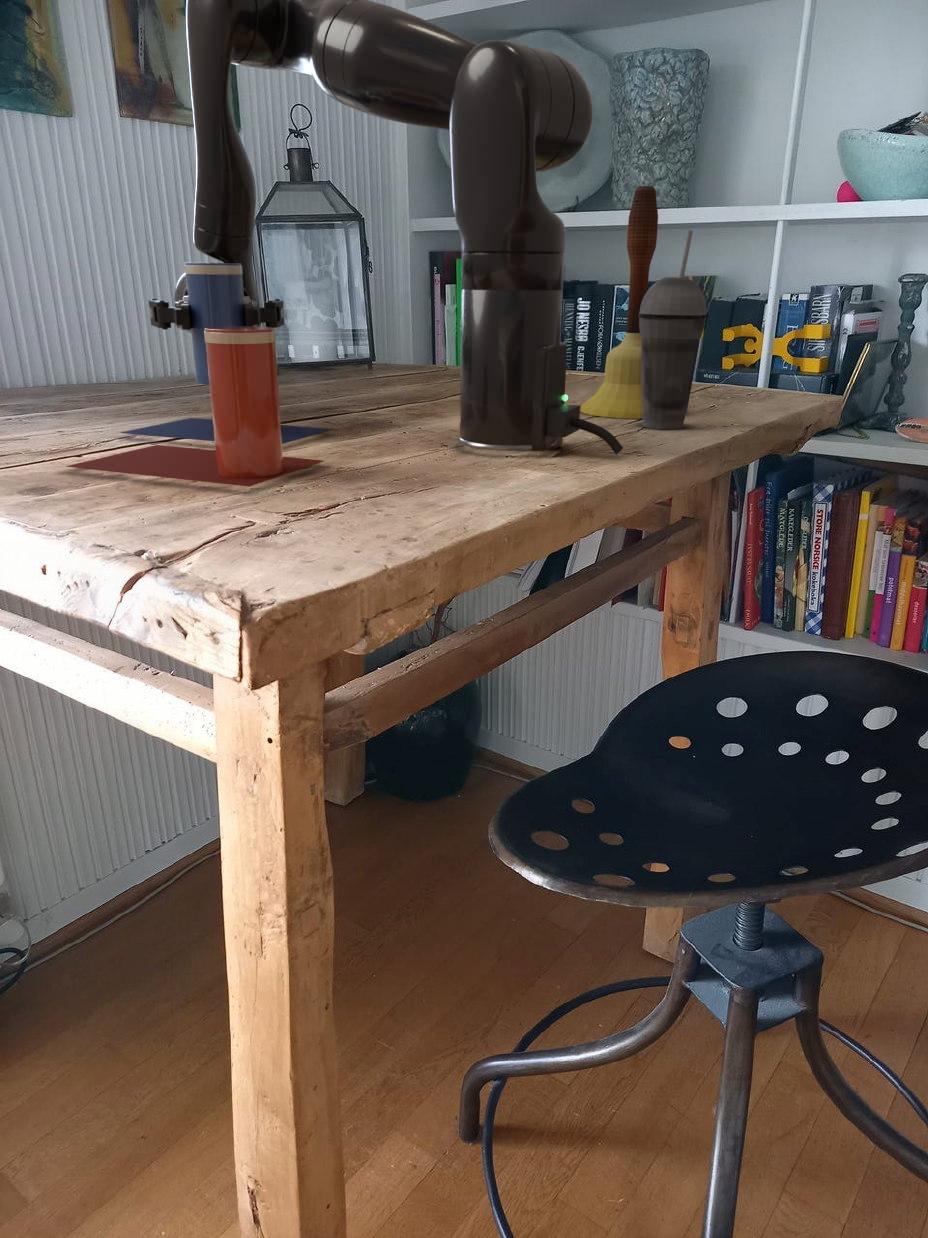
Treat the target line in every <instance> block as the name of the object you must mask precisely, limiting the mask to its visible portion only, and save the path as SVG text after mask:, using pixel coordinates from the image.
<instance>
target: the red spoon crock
mask: <svg viewBox="0 0 928 1238" xmlns="http://www.w3.org/2000/svg"><path fill="white" fill-rule="evenodd" d="M204 337H205V342H206V351H207V362H208V373H209V384H210V385H209V395H210V404H211V416H212V417H211V418H212V420H213V428H214V439H215V441H214V450H216V462H217V472H218V474H219V475H222V476H225V477H232V478H259V477H267V476H273V475H277V474H280V473H282V472H283V471H284V467H283V457H284V453H283V452H284V451H283V444H282V436H281V425H282V421H281V409H280V408H281V407H280V394H279V393H280V392H279V390H280V389H279V377H278V376H279V375H278V361H277V345H276V342H277V336H276V329H275V328H273V327H266V326H260V327H257V326H227V327H209V328H205V331H204Z"/></svg>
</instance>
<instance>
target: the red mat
mask: <svg viewBox="0 0 928 1238" xmlns="http://www.w3.org/2000/svg"><path fill="white" fill-rule="evenodd" d="M323 462H325V460H324V459H323V460H322V459H312V458H301V457H292V456H291V457H289V456H283V467H284V471H283V472H282V473H280V474H277V475H273V476H267V477H259V478H232V477H225V476H222V475H219V474H218V472H217V462H216V450H215V449H205V448H204V449H203V448H196V447H195V448H194V447H185V446H184V447H183V446H174V445H173V446H172V445H161V444H156V445H155V444H154V445H150V446H146V447H142V448H138V449H133V450H130V451H124V452H120V453H116V454H113V455H106V456H103V457H100V458H95V459H90V460H86V461H82V462H77V463H74V464H70V465H69V464H68V465H66V466H65V467H66V468H76V469H83V470H93V471H102V472H113V473H120V474H130V475H138V476H149V477H159V478H166V479H174V480H175V479H176V480H186V481H195V482H202V483H203V482H204V483H212V484H222V485H230V486H231V485H232V486H241V487H252V486H255V485H258V484H261V483H263V482H267V481H270V480H273V479H276V478H279V477H282V476H284V475H288V474H291V473H294V472H296V471H300V470H302V469H307V468H308V467H311V466H314V465H318V464H320V463H323Z"/></svg>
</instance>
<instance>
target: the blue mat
mask: <svg viewBox="0 0 928 1238" xmlns="http://www.w3.org/2000/svg"><path fill="white" fill-rule="evenodd" d="M332 430H334V428H325V427H315V426H313V427H312V426H303V425H302V426H300V425H287V424H281V436H282V445H284V444H287V443H290V442H294V441H297V440H300V439H304V438H307V437H312V436H314V435H318V434H321V433H325V432H329V431H332ZM119 433H120V434H129V435H138V436H141V435H142V436H148V437H149V436H150V437H161V438H173V439H184V440H194V441H195V440H196V441H206V442H207V441H208V442H215V439H214V428H213V418H212V419H211V418H199V417H197V418H196V417H189V418H183V419H178V420H175V421H174V420H173V421H170V422H165V423H159V424H155V425H151V426H144V427H140V428H135V429H131V430H130V429H129V430H126V431H125V430H124V431H121V432H119Z"/></svg>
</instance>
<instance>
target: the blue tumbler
mask: <svg viewBox="0 0 928 1238" xmlns="http://www.w3.org/2000/svg"><path fill="white" fill-rule="evenodd" d="M184 273H185V274H186V280H187V291H188V301H189V311H190V321H191V333H192V334H191V333H190V334H191V342H192V343H191V344H192V353H193V363H194V364H193V365H194V375H195V383H197V384H200V385H209V386H210V384H209V373H208V362H207V351H206V342H205V337H204V331H205V328H209V327H227V326H246V322H245V308H244V293H243V279H242V274H243V272H242V265H241V263H223V262H184Z"/></svg>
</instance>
